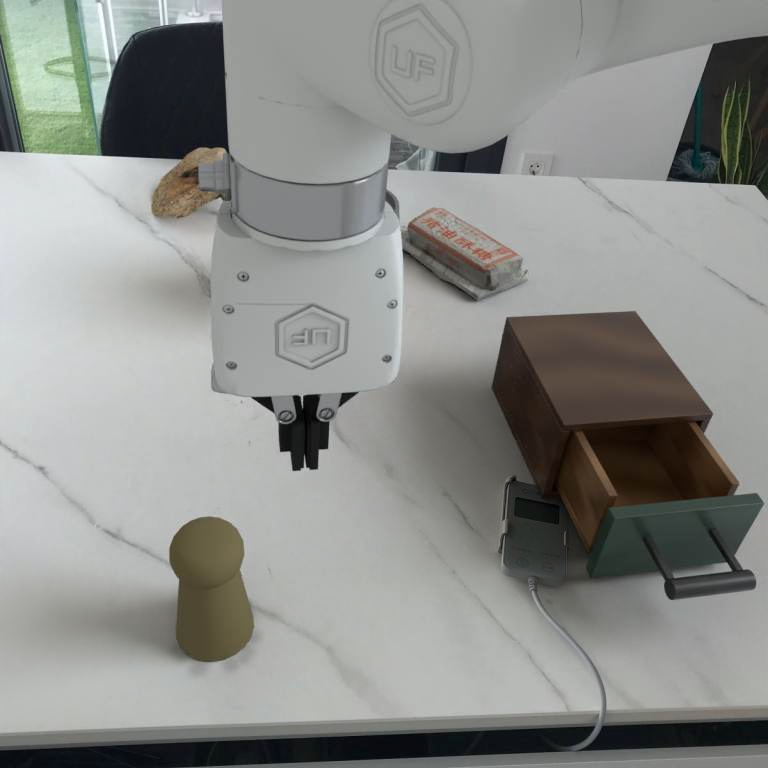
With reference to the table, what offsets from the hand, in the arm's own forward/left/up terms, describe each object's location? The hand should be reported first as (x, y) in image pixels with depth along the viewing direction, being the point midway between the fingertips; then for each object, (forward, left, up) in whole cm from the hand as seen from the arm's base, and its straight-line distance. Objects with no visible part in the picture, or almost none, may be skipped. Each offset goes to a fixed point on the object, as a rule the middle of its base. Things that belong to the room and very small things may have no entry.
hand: (302, 454), depth 49 cm
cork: (+1, +7, -19) cm, 20 cm away
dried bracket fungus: (+72, +8, -19) cm, 75 cm away
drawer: (+5, -31, -18) cm, 37 cm away
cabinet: (+19, -31, -19) cm, 41 cm away
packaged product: (+54, -27, -19) cm, 63 cm away
